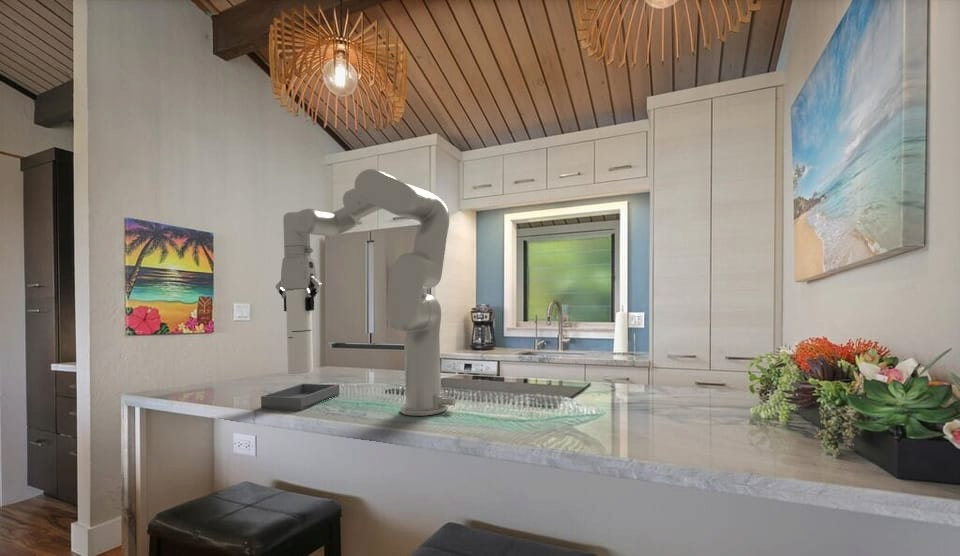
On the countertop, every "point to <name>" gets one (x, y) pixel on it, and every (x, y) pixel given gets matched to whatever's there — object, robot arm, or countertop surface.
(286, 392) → the charcoal tray
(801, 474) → the countertop surface
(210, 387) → the countertop surface
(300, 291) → the cylindrical container
